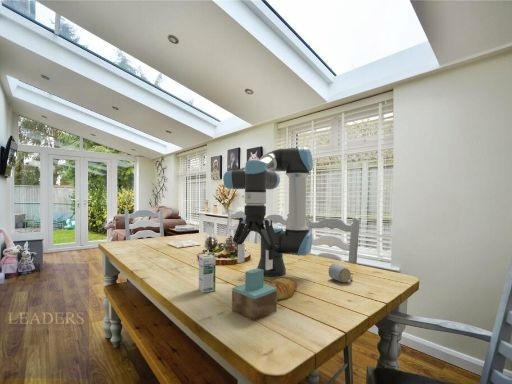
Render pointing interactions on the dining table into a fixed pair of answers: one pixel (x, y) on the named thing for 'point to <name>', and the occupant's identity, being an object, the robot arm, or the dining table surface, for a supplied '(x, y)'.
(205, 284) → the syrup box
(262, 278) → the lid
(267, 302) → the box
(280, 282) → the croissant
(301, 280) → the dining table surface
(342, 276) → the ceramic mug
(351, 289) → the dining table surface
